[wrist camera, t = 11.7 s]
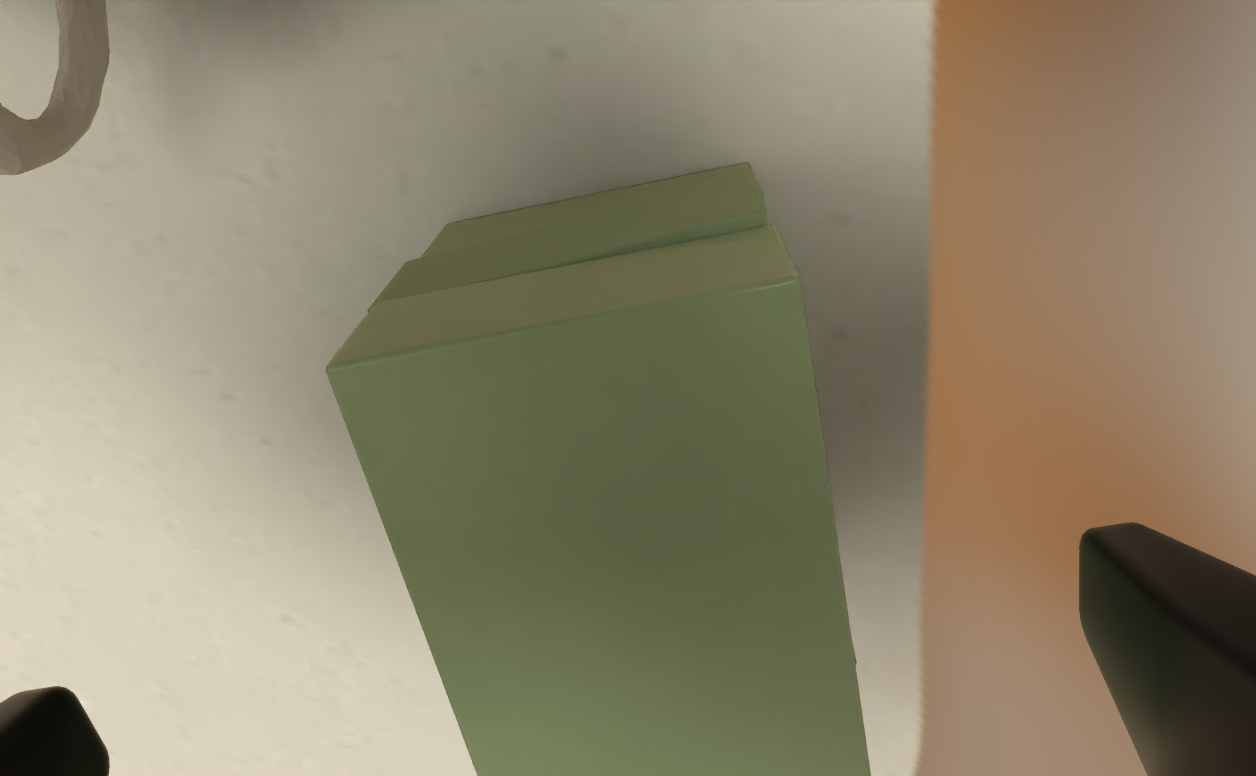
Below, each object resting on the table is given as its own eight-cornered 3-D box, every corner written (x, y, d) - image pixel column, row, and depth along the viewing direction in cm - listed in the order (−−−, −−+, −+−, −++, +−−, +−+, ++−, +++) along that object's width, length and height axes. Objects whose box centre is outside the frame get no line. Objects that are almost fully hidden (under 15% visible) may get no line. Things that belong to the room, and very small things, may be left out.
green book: (518, 725, 19) (498, 838, 16) (373, 301, 15) (321, 367, 13) (844, 677, 18) (873, 788, 16) (776, 222, 14) (801, 275, 12)
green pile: (539, 574, 23) (511, 732, 19) (429, 209, 20) (358, 290, 15) (816, 530, 23) (859, 681, 18) (757, 141, 19) (793, 204, 14)
